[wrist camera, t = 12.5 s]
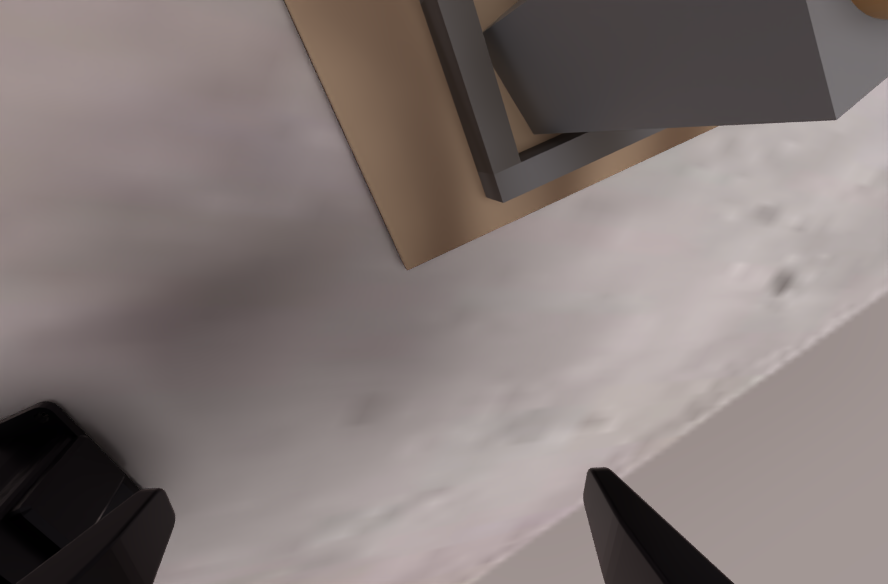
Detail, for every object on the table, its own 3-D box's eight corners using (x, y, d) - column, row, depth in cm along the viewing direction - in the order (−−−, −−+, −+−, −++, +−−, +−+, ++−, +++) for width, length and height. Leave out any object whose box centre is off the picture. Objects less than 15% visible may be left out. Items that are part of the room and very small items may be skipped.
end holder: (403, 264, 20) (415, 283, 17) (271, -27, 15) (258, -65, 12) (722, 117, 22) (779, 113, 19) (693, -185, 17) (763, -249, 14)
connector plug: (533, 134, 18) (1001, 112, 6) (475, 37, 17) (972, -320, 4) (612, 66, 18) (1268, -112, 6) (563, -38, 17) (1370, -664, 4)
